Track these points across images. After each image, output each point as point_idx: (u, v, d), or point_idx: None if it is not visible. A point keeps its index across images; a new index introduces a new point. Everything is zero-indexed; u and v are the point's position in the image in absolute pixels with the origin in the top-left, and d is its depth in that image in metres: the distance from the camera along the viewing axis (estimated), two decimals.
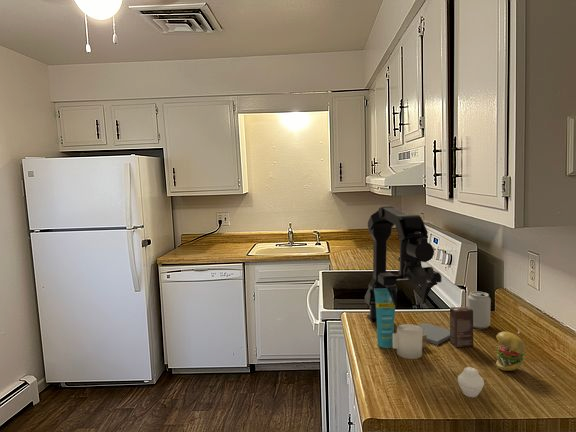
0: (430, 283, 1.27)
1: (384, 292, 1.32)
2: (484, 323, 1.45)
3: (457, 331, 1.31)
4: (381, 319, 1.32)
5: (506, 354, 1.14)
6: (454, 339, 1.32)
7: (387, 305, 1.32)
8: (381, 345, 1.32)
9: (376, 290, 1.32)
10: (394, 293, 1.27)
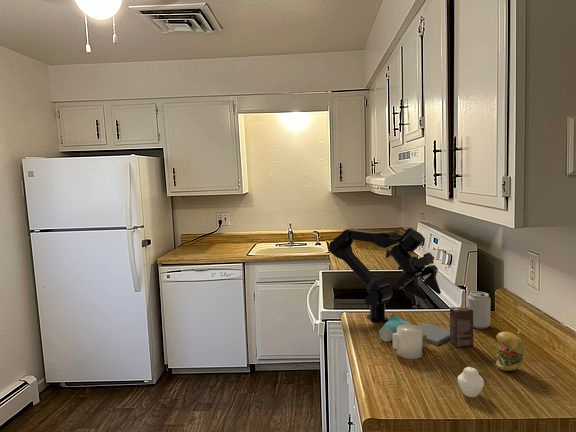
0: (433, 273, 1.45)
1: (399, 319, 1.52)
2: (484, 323, 1.45)
3: (457, 331, 1.31)
4: (390, 320, 1.45)
5: (506, 354, 1.14)
6: (454, 339, 1.32)
7: (399, 320, 1.48)
8: (383, 327, 1.38)
9: (393, 315, 1.54)
10: (418, 287, 1.37)
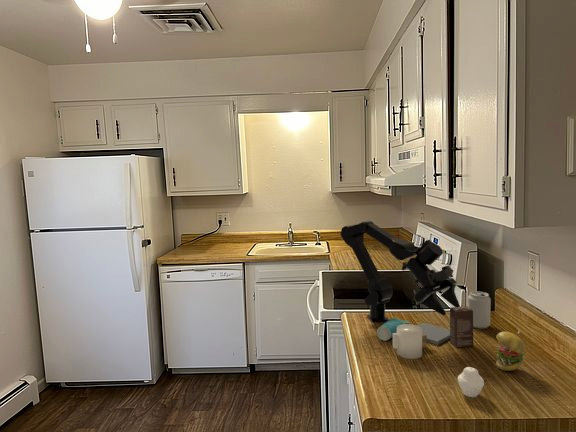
0: None
1: (398, 320, 1.52)
2: (484, 323, 1.45)
3: (457, 331, 1.31)
4: (387, 321, 1.46)
5: (506, 354, 1.14)
6: (454, 339, 1.32)
7: None
8: None
9: (392, 318, 1.54)
10: (437, 302, 1.32)
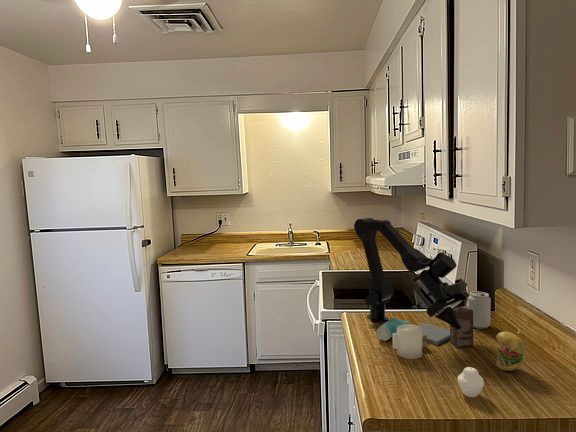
0: (463, 300, 1.37)
1: (398, 320, 1.52)
2: (484, 323, 1.45)
3: (457, 331, 1.30)
4: (387, 321, 1.46)
5: (506, 354, 1.14)
6: (454, 339, 1.32)
7: None
8: None
9: (392, 318, 1.54)
10: (452, 315, 1.30)
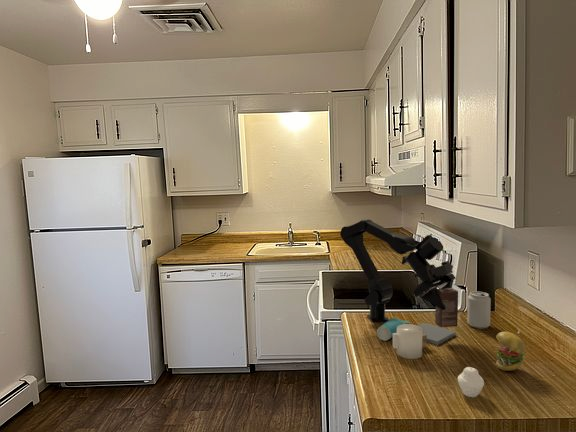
0: (449, 282, 1.40)
1: (398, 320, 1.52)
2: (484, 323, 1.45)
3: (442, 311, 1.34)
4: (387, 321, 1.46)
5: (506, 354, 1.14)
6: (439, 320, 1.35)
7: None
8: None
9: (392, 318, 1.54)
10: (438, 296, 1.33)
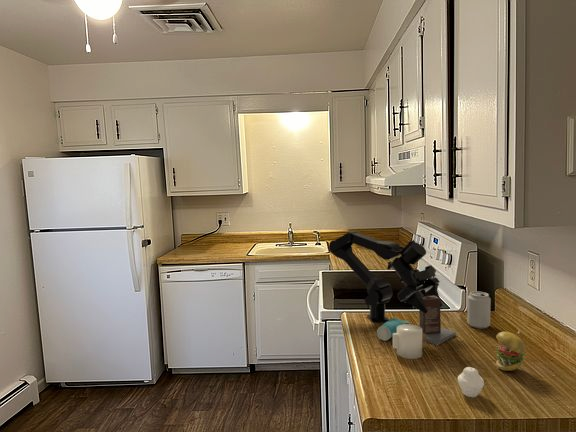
0: None
1: (398, 320, 1.52)
2: (484, 323, 1.45)
3: (425, 318, 1.39)
4: (387, 321, 1.46)
5: (506, 354, 1.14)
6: (422, 326, 1.40)
7: None
8: None
9: (392, 318, 1.54)
10: (420, 300, 1.37)
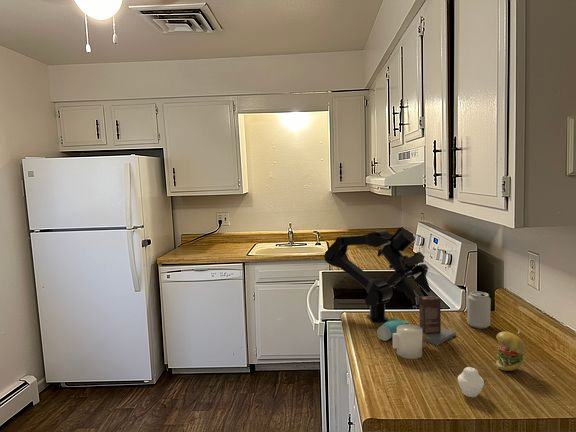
0: None
1: (398, 320, 1.52)
2: (484, 323, 1.45)
3: (425, 318, 1.39)
4: (387, 321, 1.46)
5: (506, 354, 1.14)
6: (422, 326, 1.40)
7: None
8: None
9: (392, 318, 1.54)
10: (408, 285, 1.40)
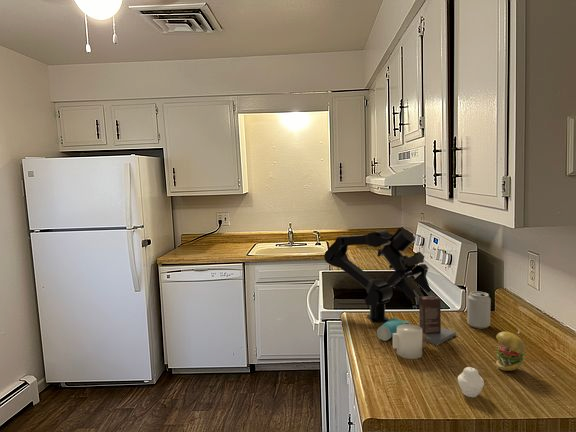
0: None
1: (398, 320, 1.52)
2: (484, 323, 1.45)
3: (425, 318, 1.39)
4: (387, 321, 1.46)
5: (506, 354, 1.14)
6: (422, 326, 1.40)
7: None
8: None
9: (392, 318, 1.54)
10: (408, 285, 1.40)
